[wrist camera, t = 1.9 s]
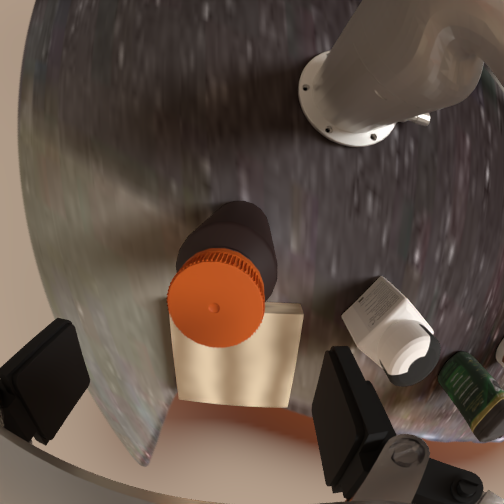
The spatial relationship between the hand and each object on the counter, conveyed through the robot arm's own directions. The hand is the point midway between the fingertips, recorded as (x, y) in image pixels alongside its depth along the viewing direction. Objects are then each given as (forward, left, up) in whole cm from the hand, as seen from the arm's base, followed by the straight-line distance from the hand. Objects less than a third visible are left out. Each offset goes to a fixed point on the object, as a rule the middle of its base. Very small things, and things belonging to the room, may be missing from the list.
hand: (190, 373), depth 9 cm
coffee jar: (-41, +23, -25) cm, 53 cm away
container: (-19, +10, -25) cm, 33 cm away
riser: (0, +17, -25) cm, 30 cm away
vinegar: (0, 0, -25) cm, 25 cm away
